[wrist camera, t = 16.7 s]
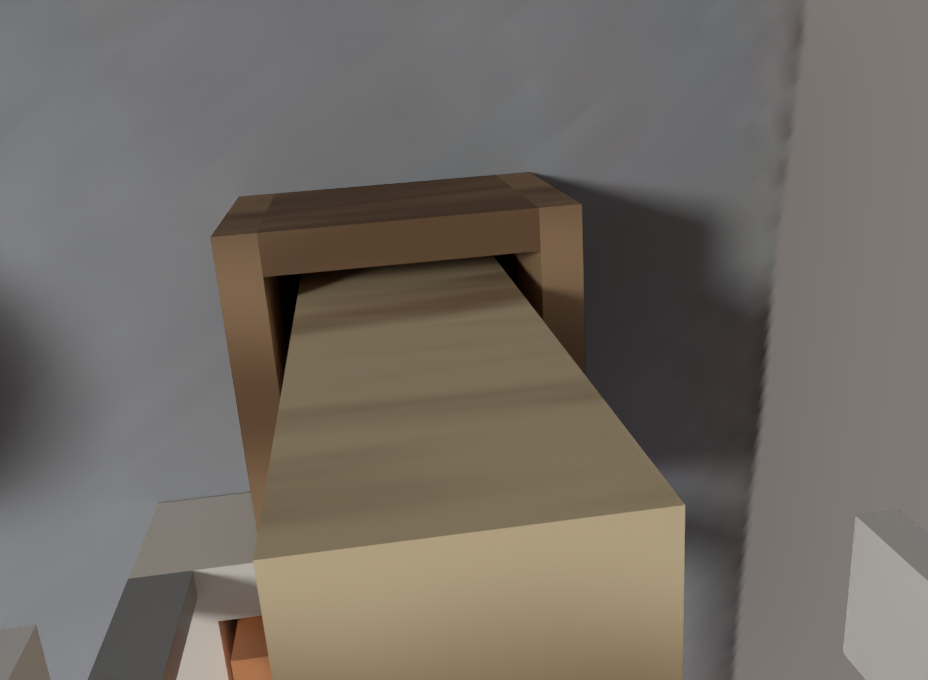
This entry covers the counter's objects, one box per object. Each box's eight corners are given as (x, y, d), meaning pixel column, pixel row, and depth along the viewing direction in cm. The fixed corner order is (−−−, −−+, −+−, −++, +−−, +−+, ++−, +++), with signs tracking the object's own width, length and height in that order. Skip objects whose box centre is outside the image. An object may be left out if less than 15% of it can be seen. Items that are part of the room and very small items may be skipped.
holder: (238, 196, 30) (210, 237, 23) (529, 171, 31) (582, 204, 24) (277, 464, 33) (262, 567, 26) (540, 433, 34) (589, 524, 27)
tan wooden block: (305, 249, 31) (252, 560, 12) (475, 233, 31) (684, 504, 12) (325, 409, 33) (306, 896, 14) (485, 391, 33) (680, 834, 14)
